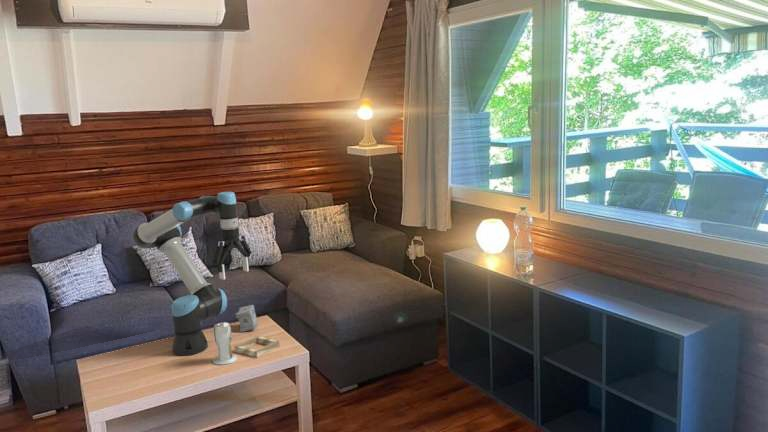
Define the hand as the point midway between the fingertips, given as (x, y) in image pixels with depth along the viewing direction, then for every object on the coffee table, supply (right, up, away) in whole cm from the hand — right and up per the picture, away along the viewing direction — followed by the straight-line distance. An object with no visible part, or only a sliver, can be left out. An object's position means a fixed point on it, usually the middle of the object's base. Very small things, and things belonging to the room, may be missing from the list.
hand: (234, 275), depth 269 cm
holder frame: (+10, -33, 0) cm, 34 cm away
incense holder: (0, -29, +26) cm, 39 cm away
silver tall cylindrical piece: (-2, -35, -9) cm, 36 cm away
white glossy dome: (-2, -35, -9) cm, 36 cm away
